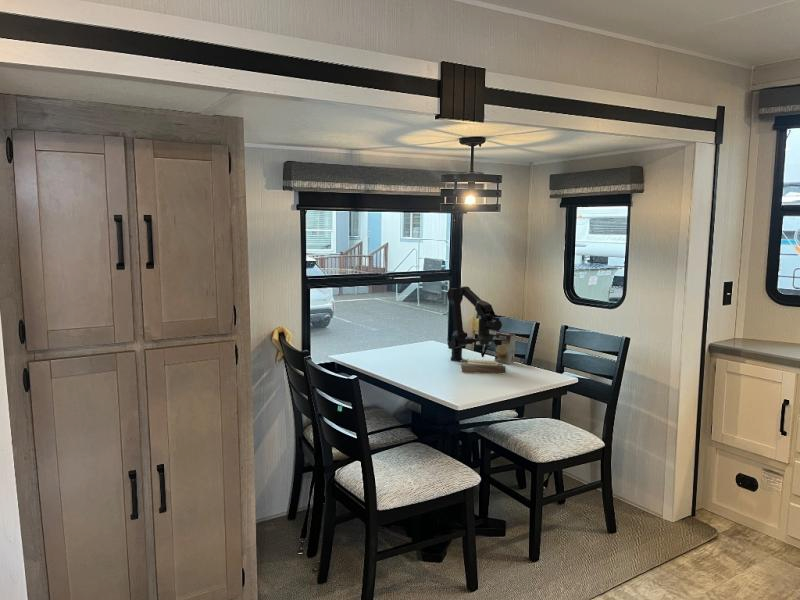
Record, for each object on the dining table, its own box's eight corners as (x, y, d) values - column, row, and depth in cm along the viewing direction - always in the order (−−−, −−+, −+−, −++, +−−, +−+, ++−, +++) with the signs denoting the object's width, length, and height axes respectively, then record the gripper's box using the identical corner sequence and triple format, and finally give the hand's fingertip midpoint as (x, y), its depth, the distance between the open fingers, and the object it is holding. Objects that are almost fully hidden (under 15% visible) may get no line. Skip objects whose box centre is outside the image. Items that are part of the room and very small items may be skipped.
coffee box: (493, 361, 326) (495, 333, 324) (499, 359, 331) (501, 331, 329) (508, 364, 321) (510, 335, 318) (514, 362, 325) (516, 333, 323)
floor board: (460, 364, 318) (461, 358, 317) (502, 366, 316) (502, 360, 316) (461, 371, 303) (461, 365, 302) (505, 373, 301) (505, 367, 301)
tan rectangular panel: (467, 362, 316) (467, 359, 316) (495, 363, 315) (496, 361, 315) (468, 367, 306) (468, 364, 306) (497, 368, 305) (497, 365, 305)
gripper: (466, 330, 302) (465, 360, 304) (503, 331, 301) (502, 361, 303) (465, 326, 313) (464, 355, 315) (501, 327, 312) (500, 356, 314)
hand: (482, 357), depth 312 cm, fingers closed
